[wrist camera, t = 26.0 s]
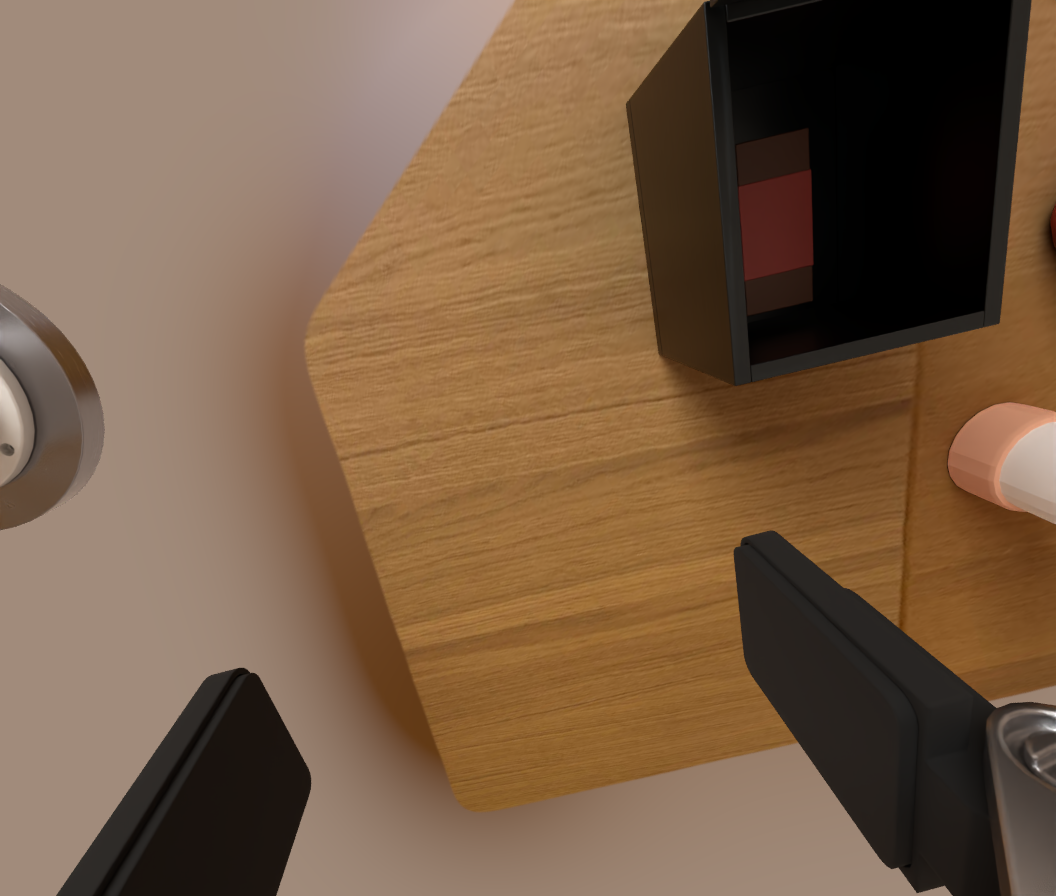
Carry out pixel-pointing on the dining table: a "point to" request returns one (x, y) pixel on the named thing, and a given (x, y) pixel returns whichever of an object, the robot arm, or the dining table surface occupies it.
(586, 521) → the dining table surface
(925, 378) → the dining table surface
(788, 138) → the chocolate bar
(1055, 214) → the fruit
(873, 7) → the trash bin
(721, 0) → the black lid
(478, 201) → the dining table surface
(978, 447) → the salt shaker
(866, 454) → the dining table surface
